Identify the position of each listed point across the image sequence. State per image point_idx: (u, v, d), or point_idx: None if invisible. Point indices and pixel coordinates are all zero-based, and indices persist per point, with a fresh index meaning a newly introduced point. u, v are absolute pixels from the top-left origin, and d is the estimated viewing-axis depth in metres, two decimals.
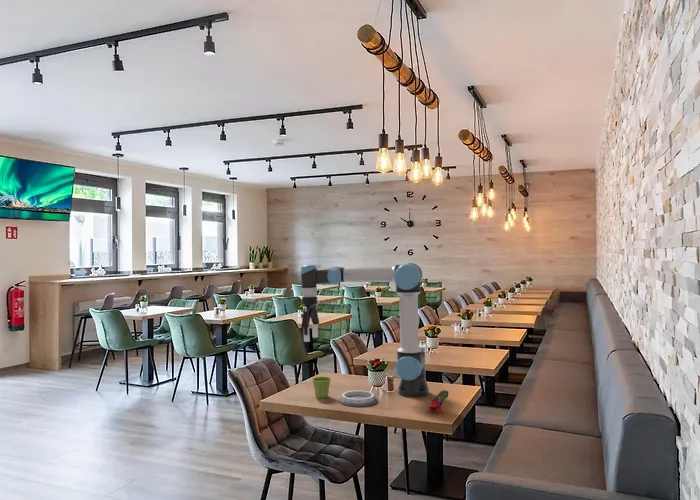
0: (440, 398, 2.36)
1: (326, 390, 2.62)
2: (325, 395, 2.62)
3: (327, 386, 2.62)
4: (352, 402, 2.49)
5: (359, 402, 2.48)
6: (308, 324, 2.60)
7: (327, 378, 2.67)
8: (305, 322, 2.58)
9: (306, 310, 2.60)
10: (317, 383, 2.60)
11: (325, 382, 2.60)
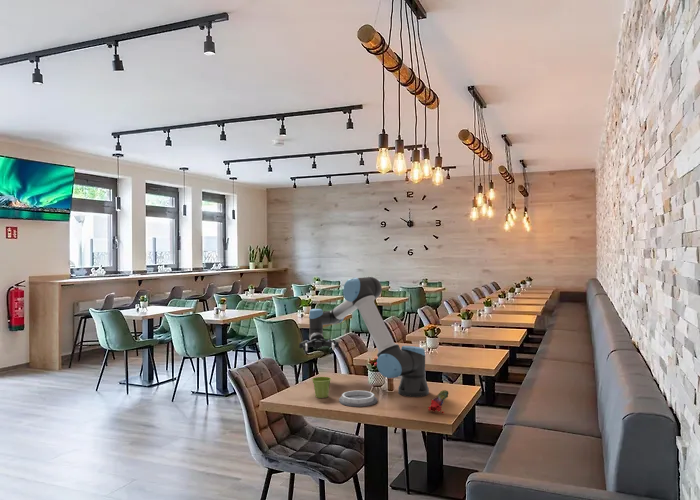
0: (440, 398, 2.36)
1: (326, 390, 2.62)
2: (325, 395, 2.62)
3: (327, 386, 2.62)
4: (352, 402, 2.49)
5: (359, 402, 2.48)
6: (305, 342, 2.79)
7: (327, 378, 2.67)
8: None
9: None
10: (317, 383, 2.60)
11: (325, 382, 2.60)
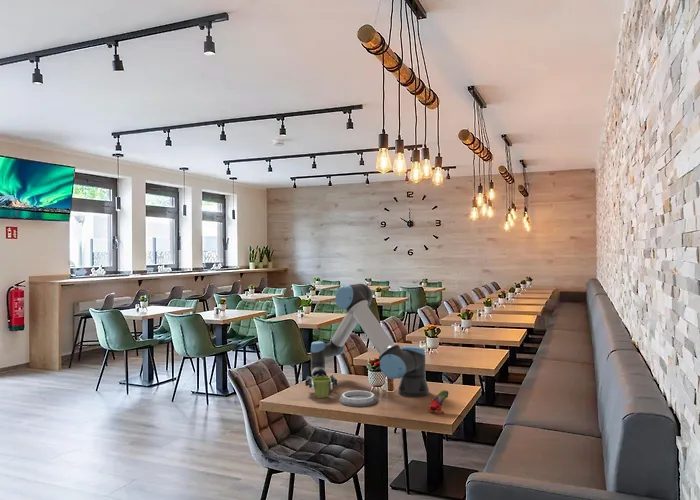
0: (440, 398, 2.36)
1: (326, 390, 2.62)
2: (325, 395, 2.62)
3: (327, 386, 2.62)
4: (352, 402, 2.49)
5: (359, 402, 2.48)
6: (311, 380, 2.67)
7: (327, 378, 2.67)
8: None
9: (307, 378, 2.74)
10: (317, 383, 2.60)
11: (325, 382, 2.60)
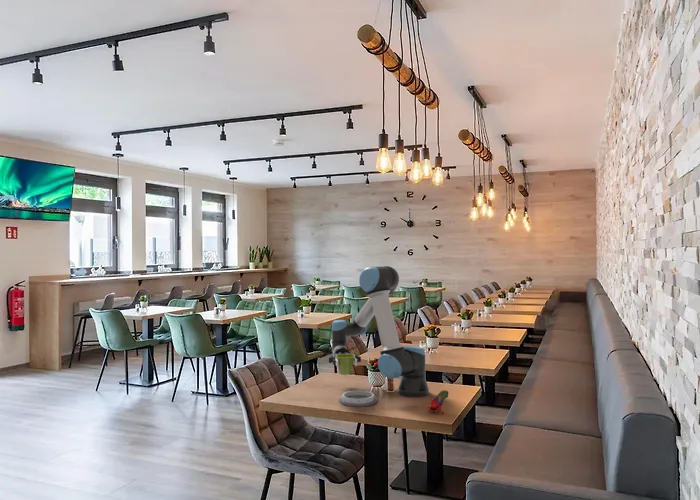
0: (440, 398, 2.36)
1: (350, 367, 2.57)
2: (349, 372, 2.57)
3: (351, 363, 2.57)
4: (352, 402, 2.49)
5: (359, 402, 2.48)
6: (334, 357, 2.62)
7: (351, 355, 2.62)
8: (329, 358, 2.63)
9: (329, 356, 2.69)
10: (341, 359, 2.55)
11: (350, 358, 2.56)
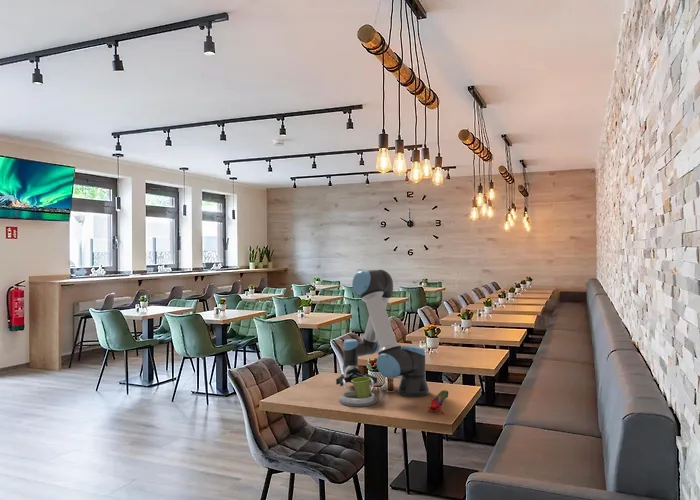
0: (440, 398, 2.36)
1: (367, 390, 2.55)
2: (367, 395, 2.55)
3: (368, 386, 2.55)
4: (352, 402, 2.49)
5: (359, 402, 2.48)
6: (342, 378, 2.60)
7: (366, 378, 2.60)
8: None
9: None
10: (357, 384, 2.53)
11: (366, 382, 2.54)
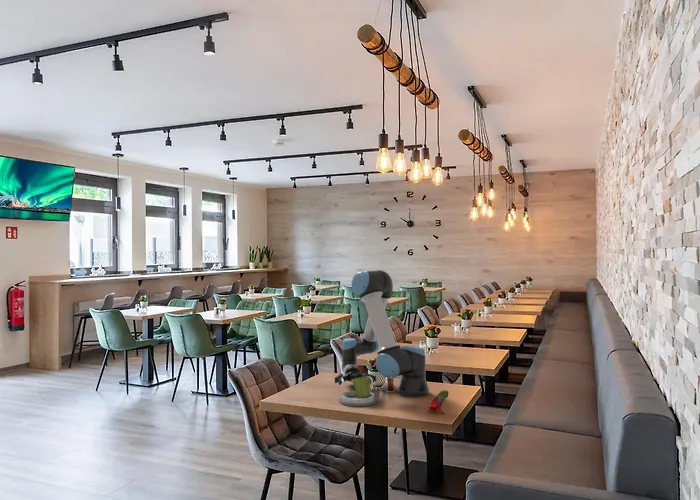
0: (440, 398, 2.36)
1: (368, 388, 2.55)
2: (367, 394, 2.55)
3: (368, 384, 2.56)
4: (352, 402, 2.49)
5: (359, 402, 2.48)
6: (341, 377, 2.62)
7: (366, 377, 2.62)
8: None
9: None
10: (357, 382, 2.54)
11: (366, 380, 2.55)
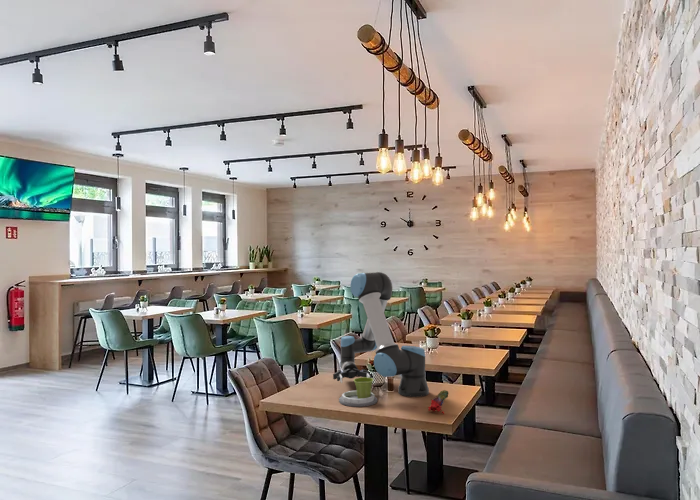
0: (440, 398, 2.36)
1: (369, 391, 2.55)
2: (368, 396, 2.55)
3: (370, 387, 2.55)
4: (352, 402, 2.49)
5: (359, 402, 2.48)
6: (339, 373, 2.69)
7: (368, 379, 2.61)
8: None
9: None
10: (360, 384, 2.53)
11: (369, 383, 2.54)
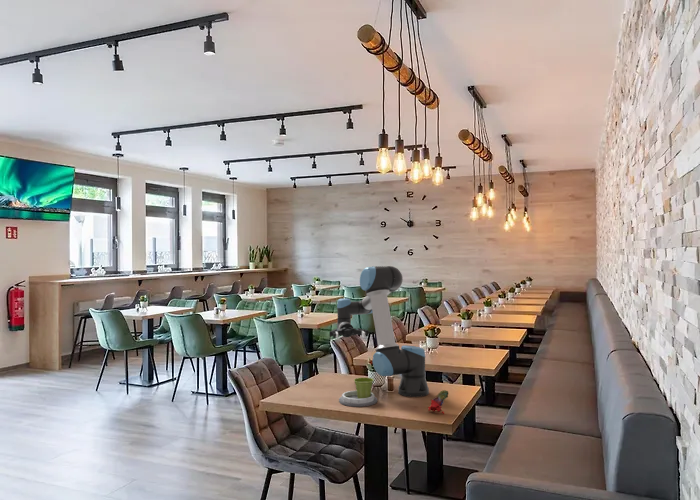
0: (440, 398, 2.36)
1: (369, 391, 2.55)
2: (368, 396, 2.55)
3: (370, 387, 2.56)
4: (352, 402, 2.49)
5: (359, 402, 2.48)
6: (335, 331, 2.80)
7: (368, 379, 2.61)
8: None
9: (334, 330, 2.87)
10: (361, 384, 2.53)
11: (369, 383, 2.54)
